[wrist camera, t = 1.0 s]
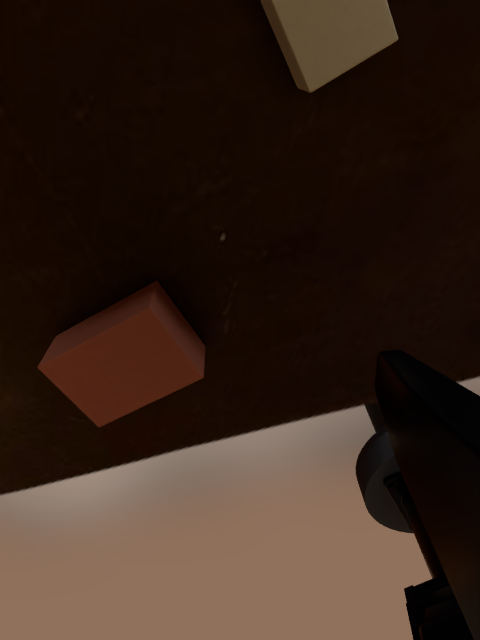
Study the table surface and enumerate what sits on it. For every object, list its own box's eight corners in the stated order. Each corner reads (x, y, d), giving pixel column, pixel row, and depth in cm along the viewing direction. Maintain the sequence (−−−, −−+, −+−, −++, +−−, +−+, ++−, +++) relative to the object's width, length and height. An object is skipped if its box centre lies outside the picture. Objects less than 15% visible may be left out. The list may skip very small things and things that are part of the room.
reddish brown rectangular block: (156, 279, 23) (149, 307, 21) (205, 346, 26) (204, 378, 23) (55, 335, 25) (36, 367, 22) (110, 393, 27) (98, 428, 25)
